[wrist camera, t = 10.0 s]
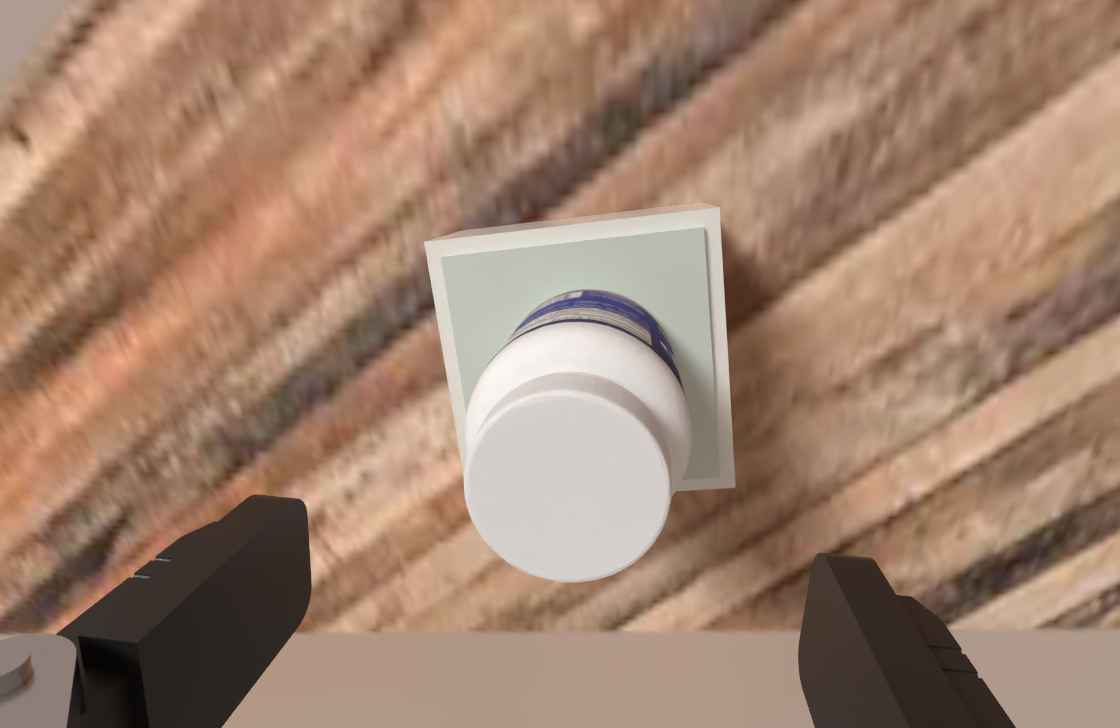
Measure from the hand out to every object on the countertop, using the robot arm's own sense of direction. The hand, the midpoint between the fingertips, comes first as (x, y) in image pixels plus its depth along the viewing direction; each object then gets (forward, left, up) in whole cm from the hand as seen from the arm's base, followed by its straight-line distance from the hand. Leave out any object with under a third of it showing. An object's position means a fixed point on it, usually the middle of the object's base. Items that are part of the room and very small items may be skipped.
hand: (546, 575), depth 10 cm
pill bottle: (0, 0, -11) cm, 11 cm away
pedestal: (0, 0, -16) cm, 16 cm away
